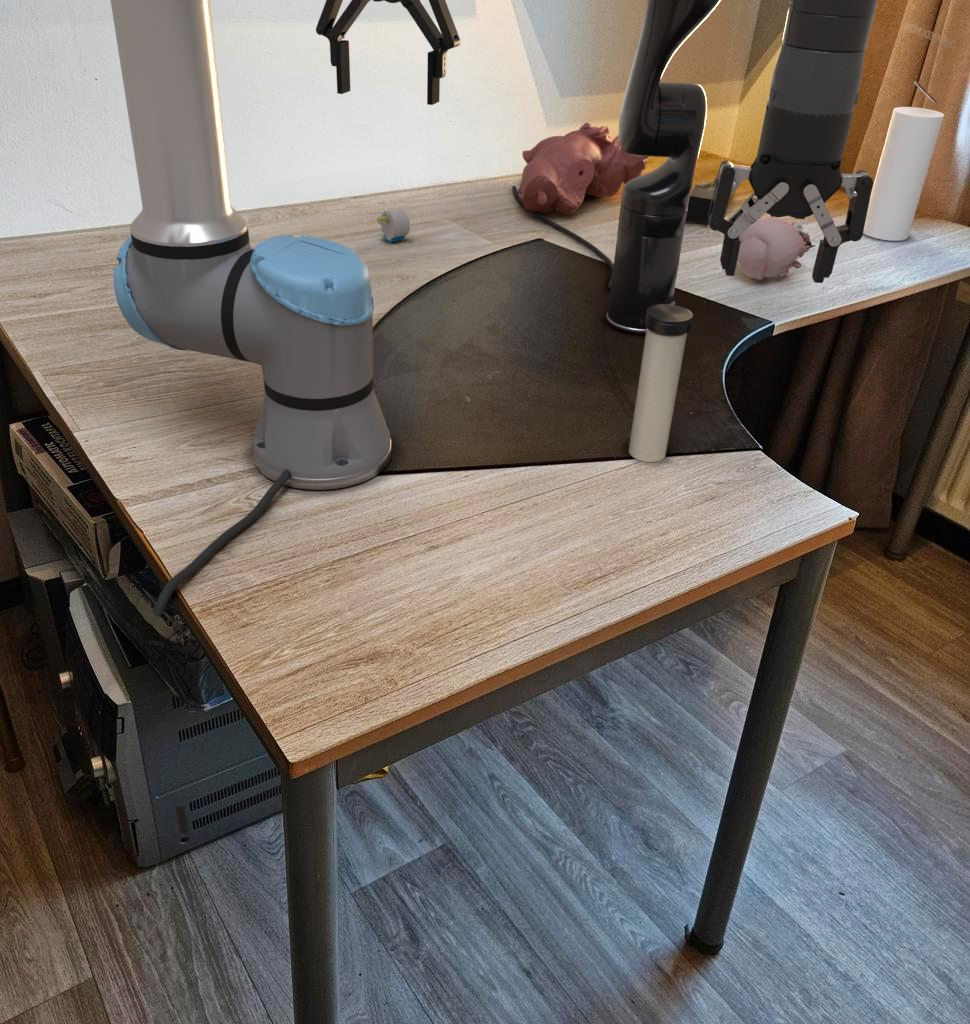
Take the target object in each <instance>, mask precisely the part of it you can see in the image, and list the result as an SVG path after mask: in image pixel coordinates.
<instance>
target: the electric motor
mask: <svg viewBox="0 0 970 1024" xmlns="http://www.w3.org/2000/svg"><path fill="white" fill-rule="evenodd" d="M376 222H377V224H378V225H380V227H381V231H382V233H383V238H384V240H385V241H388V242H389V243H394V242H395V243H396V242H399V241H404V240H405V238H406V236H407V235H409V233H410V229H411V222H410V218H409V216H408V213H407V212H406V210H404V209H403V208H397V209H392V210H387V211H384V212H383V213H382V214H381V216H378V217H377V218H376Z"/></svg>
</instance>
